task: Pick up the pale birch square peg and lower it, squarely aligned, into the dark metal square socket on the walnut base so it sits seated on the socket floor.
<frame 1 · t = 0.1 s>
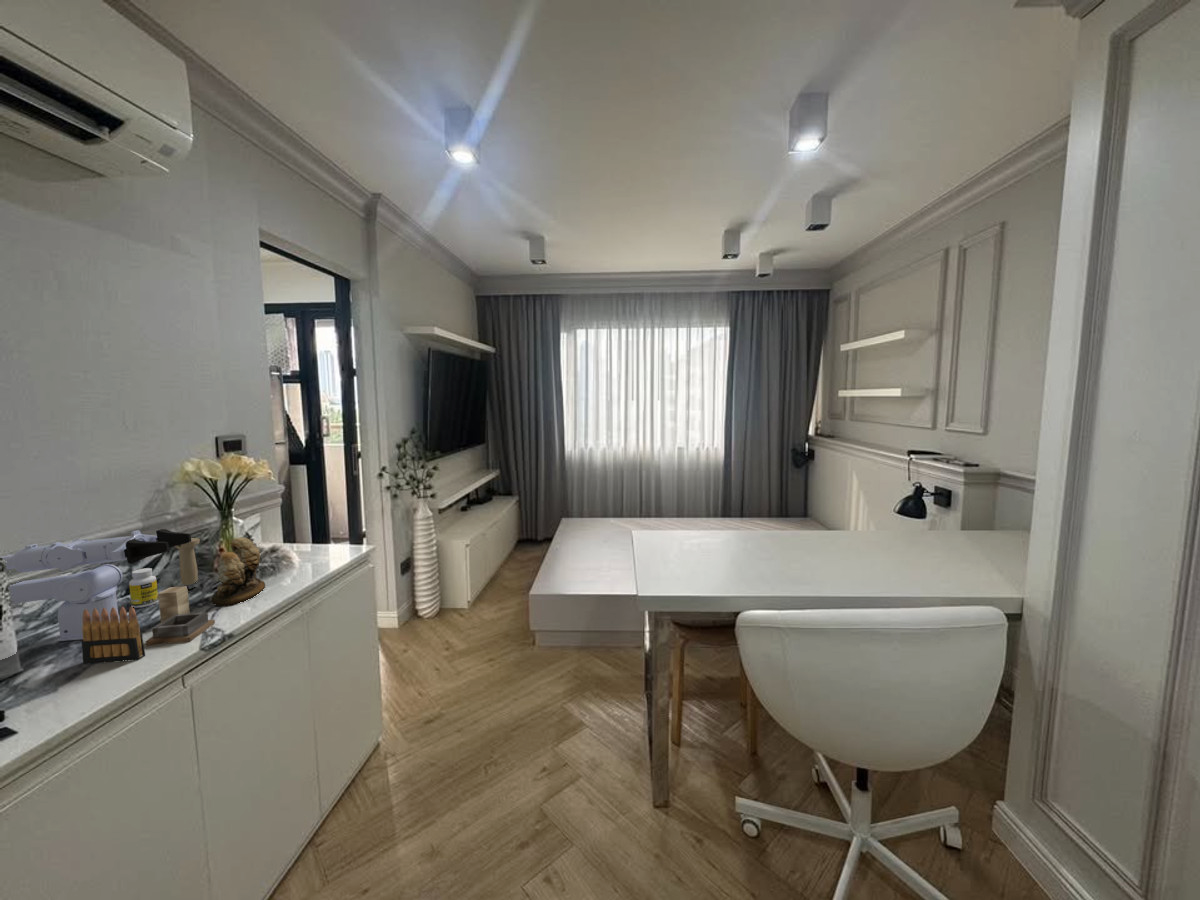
hand: (179, 542, 114), 22 cm above the counter, tool horizontal, fingers open, 7 cm apart
ammunition clip: (114, 660, 100), on the counter
supplement bottle: (145, 604, 128), on the counter
square peg: (175, 619, 119), on the counter
handle: (190, 589, 139), on the counter
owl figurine: (240, 594, 135), on the counter
socket: (182, 633, 112), on the counter
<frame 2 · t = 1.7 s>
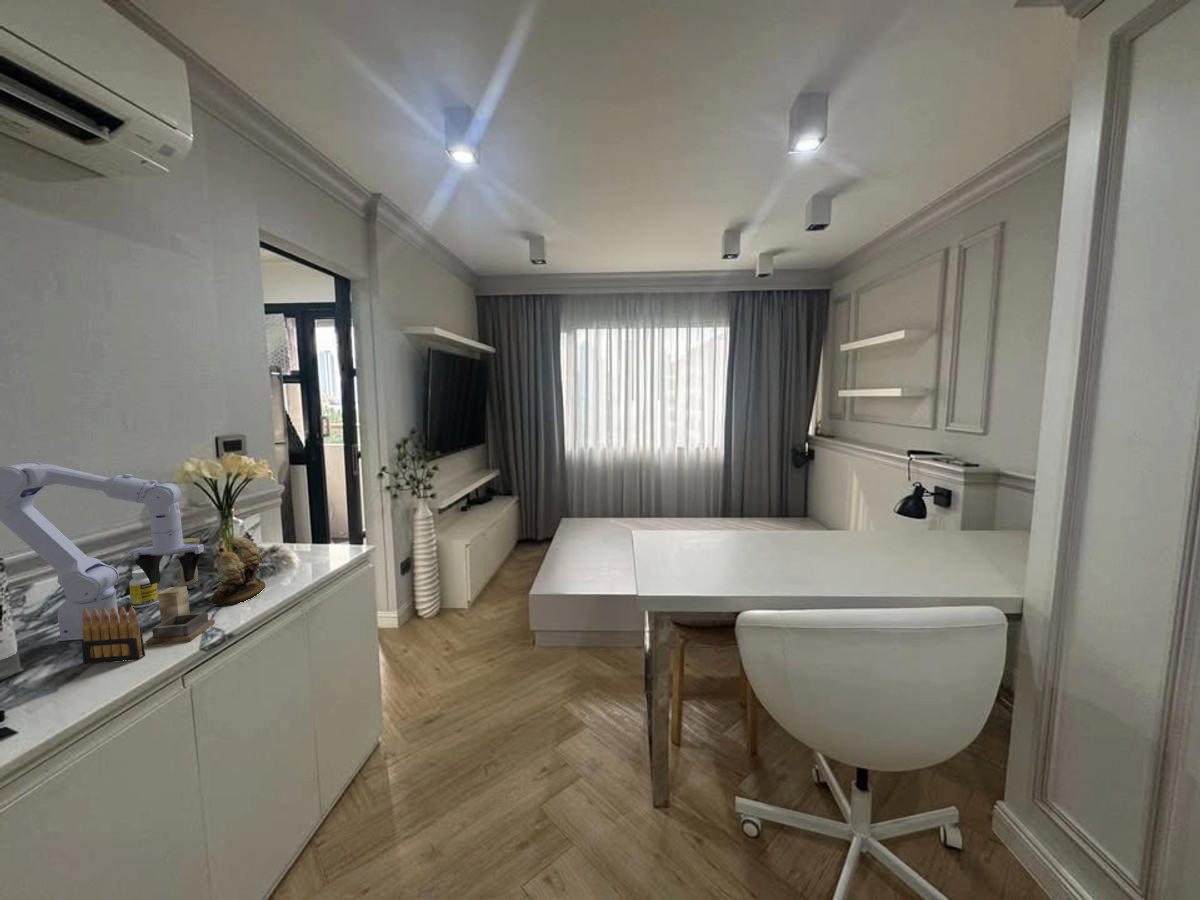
hand: (172, 581, 118), 10 cm above the counter, tool pointing down, fingers open, 7 cm apart
nothing on the counter moved.
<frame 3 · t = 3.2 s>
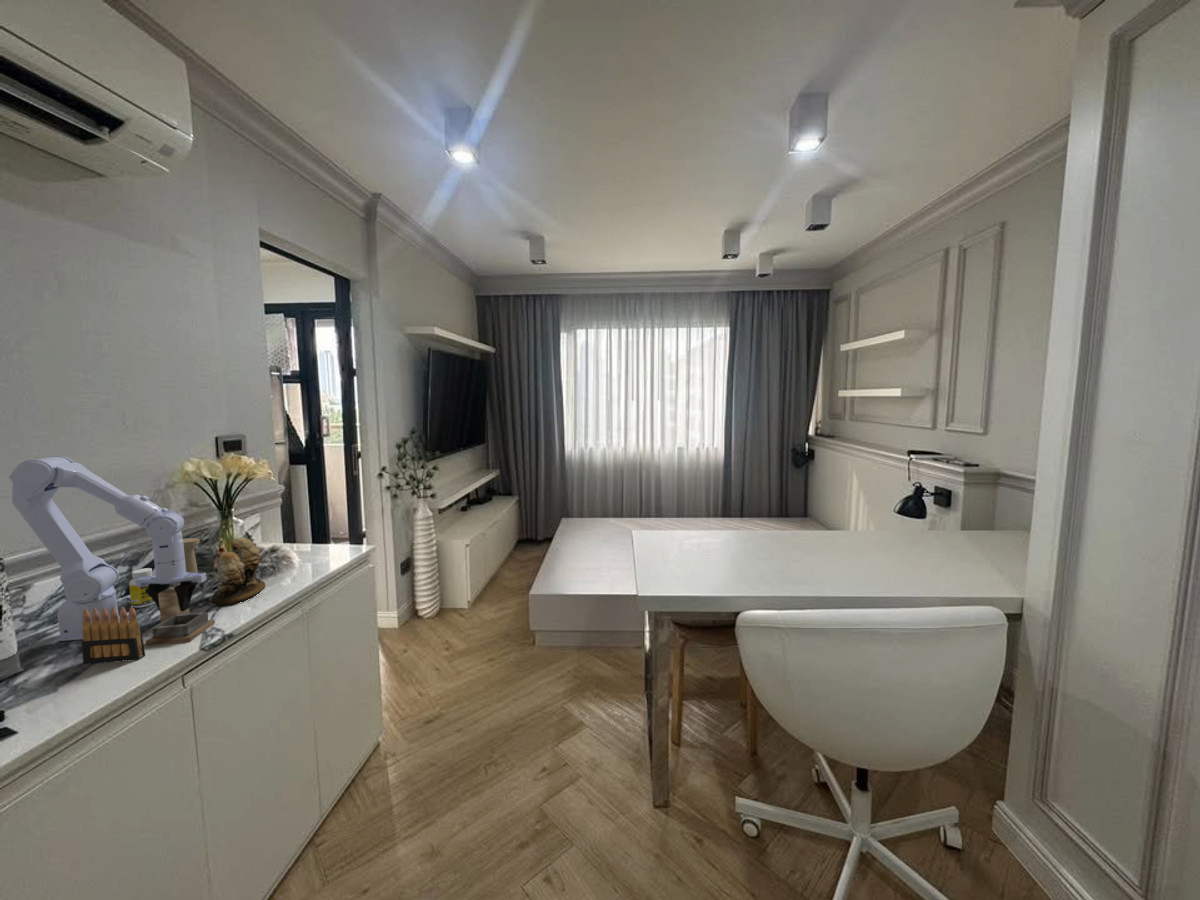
hand: (175, 610, 119), 2 cm above the counter, tool pointing down, fingers closed on square peg, 4 cm apart
square peg: (175, 619, 119), on the counter, touching gripper
everything else where it was.
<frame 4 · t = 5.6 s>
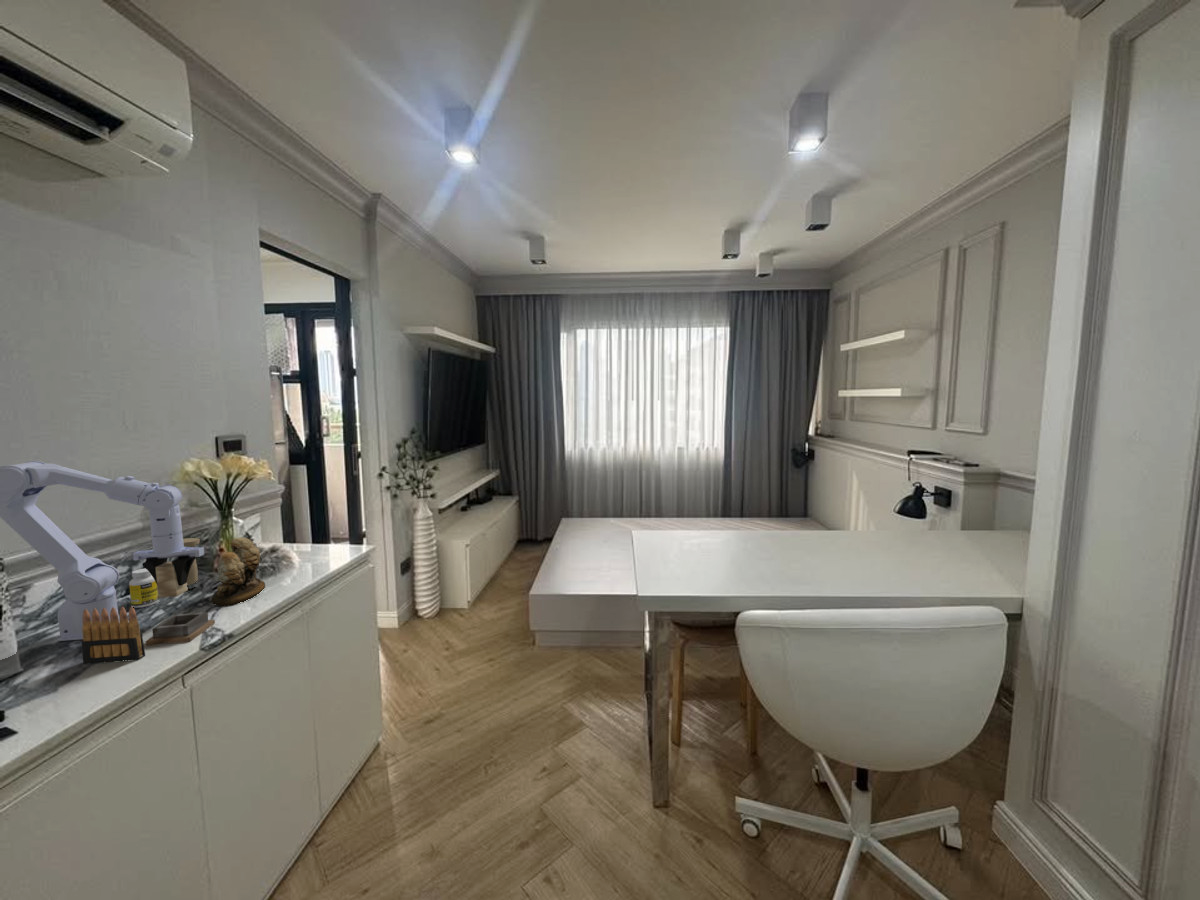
hand: (172, 584, 118), 9 cm above the counter, tool pointing down, fingers closed on square peg, 4 cm apart
square peg: (173, 593, 118), point 7 cm above the counter, touching gripper
everything else where it was.
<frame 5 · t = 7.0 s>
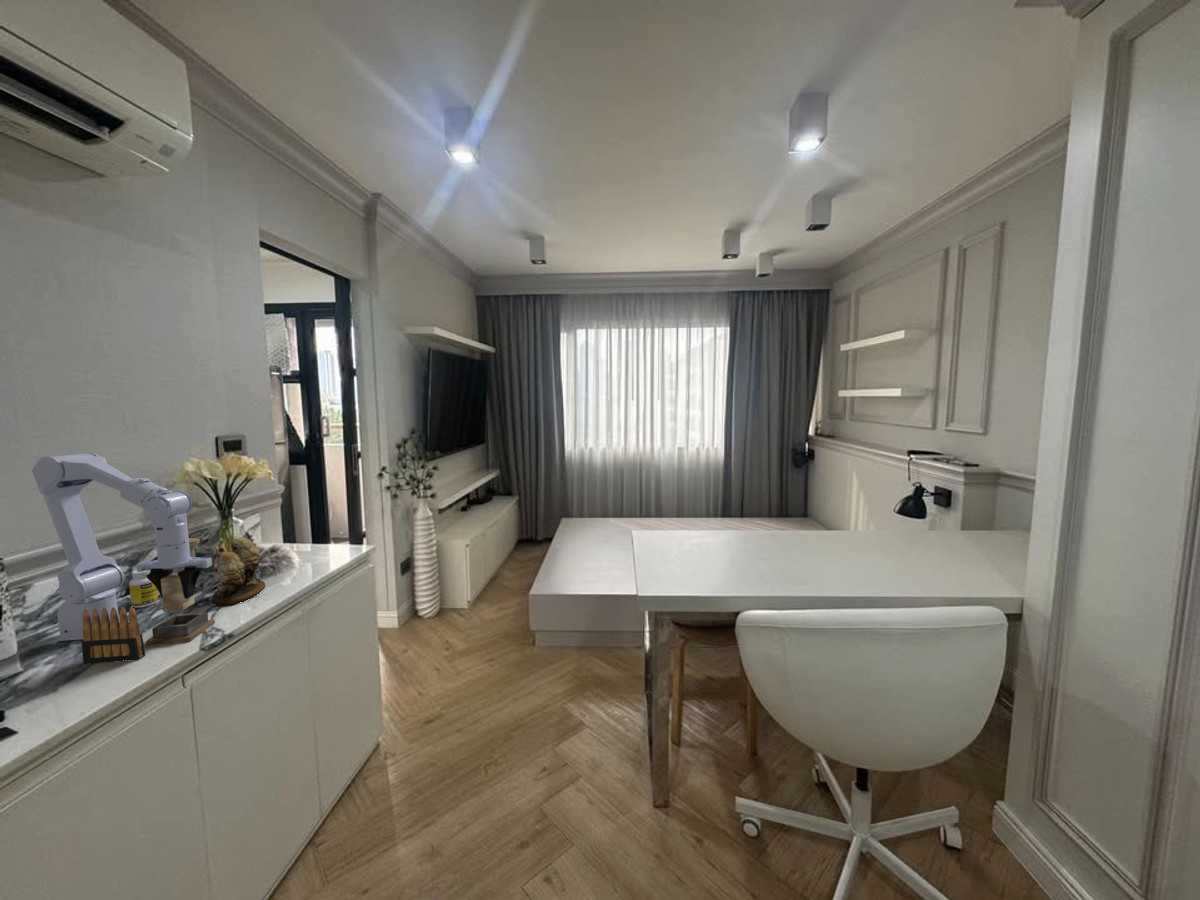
hand: (178, 597, 111), 9 cm above the counter, tool pointing down, fingers closed on square peg, 4 cm apart
square peg: (179, 607, 111), point 7 cm above the counter, touching gripper
everything else where it was.
when the fingers open (5 cm above the counter, at t = 8.3 s): square peg drops 1 cm, resting on socket.
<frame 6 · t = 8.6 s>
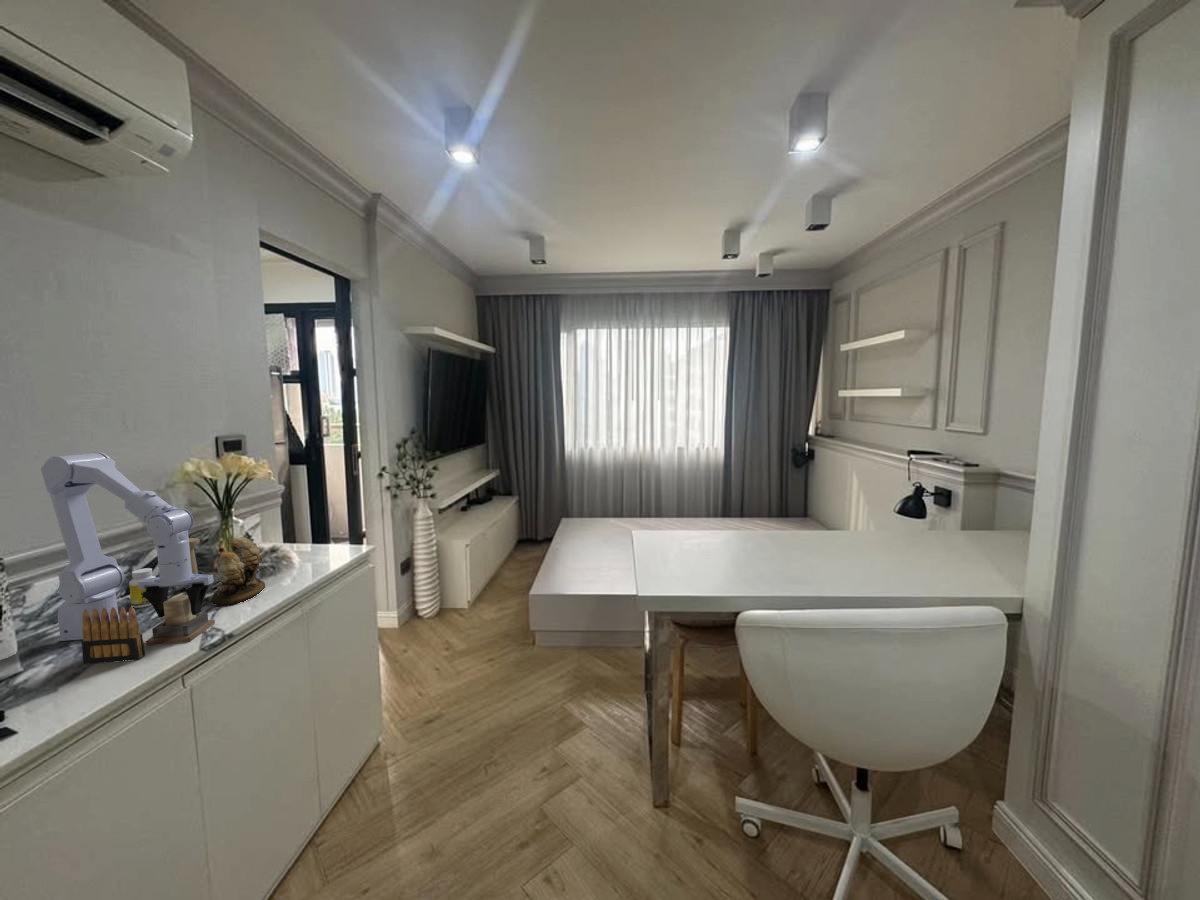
hand: (180, 614, 111), 5 cm above the counter, tool pointing down, fingers open, 6 cm apart
square peg: (182, 629, 112), point 1 cm above the counter, touching socket
everything else where it was.
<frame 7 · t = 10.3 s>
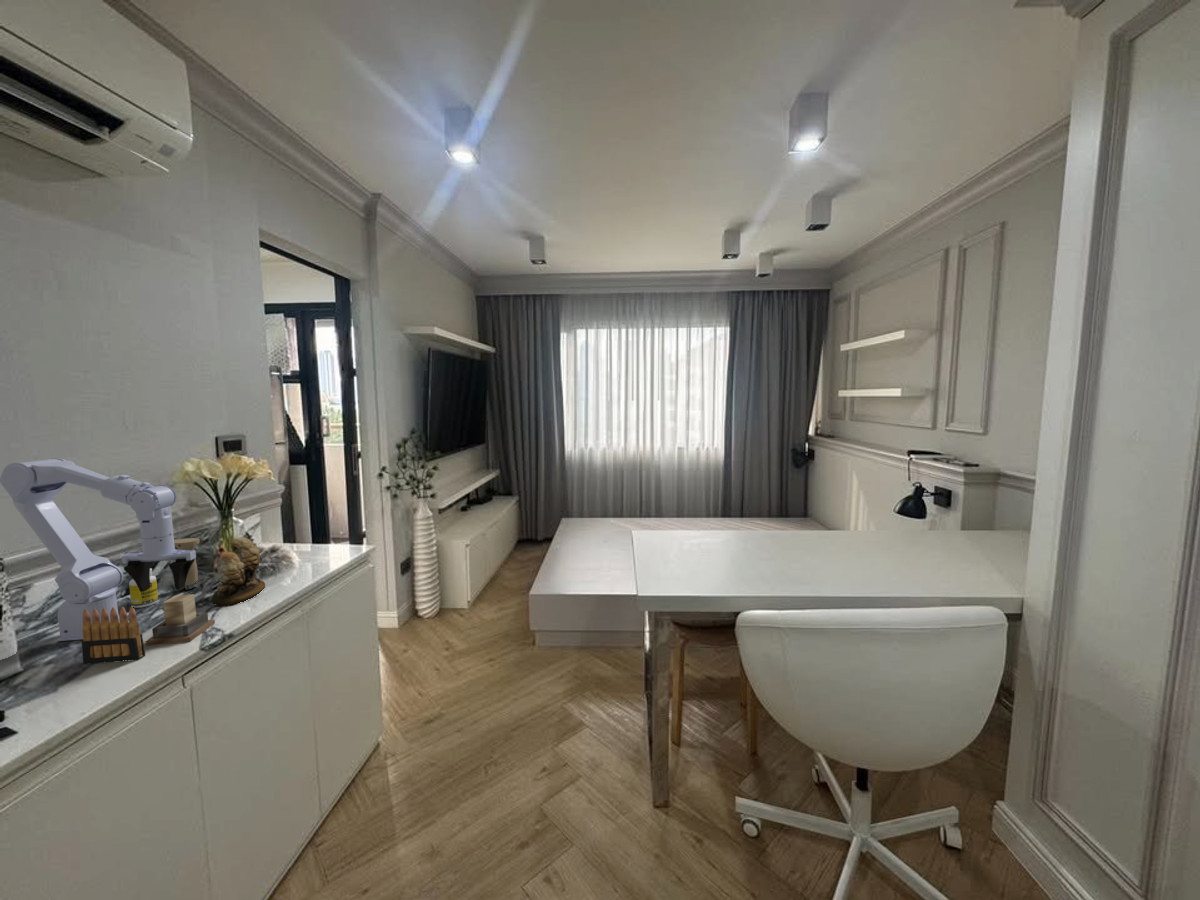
hand: (162, 589, 113), 10 cm above the counter, tool pointing down, fingers open, 7 cm apart
nothing on the counter moved.
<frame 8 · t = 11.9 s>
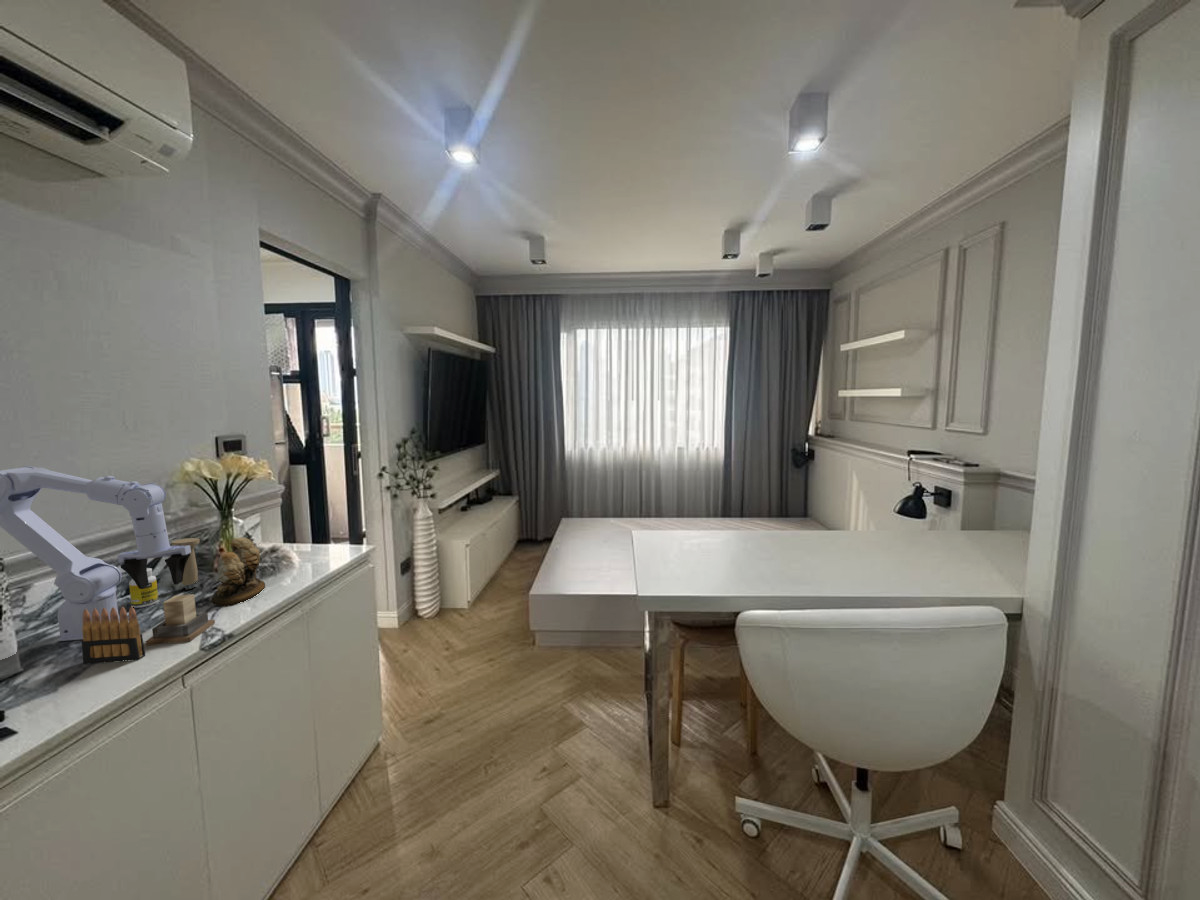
hand: (161, 585, 115), 10 cm above the counter, tool pointing down, fingers open, 7 cm apart
nothing on the counter moved.
at the end: square peg 0.1 cm from the socket (horizontally); square peg point 1.0 cm above the counter; square peg tilted 0° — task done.
